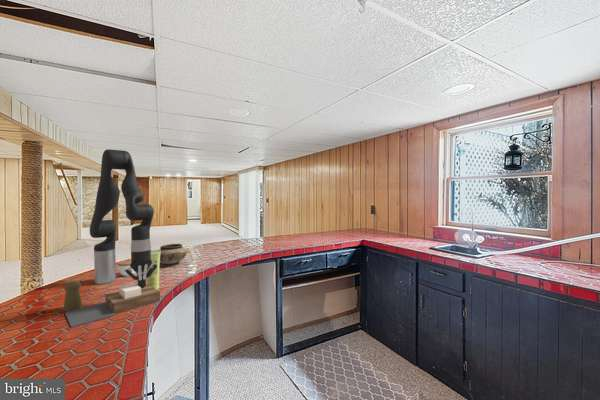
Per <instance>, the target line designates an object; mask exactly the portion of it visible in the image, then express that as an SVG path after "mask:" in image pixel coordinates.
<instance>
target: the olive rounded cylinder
mask: <svg viewBox="0 0 600 400" xmlns="http://www.w3.org/2000/svg"><path fill="white" fill-rule="evenodd" d="M81 286H82V284H81V282H80V281H79V280H72V281H68V282H66V283H65V284H64V286H63V289H64V291H65V297H64V304H63V309H62V310H63V311H64V312H68V311H72V310H76V309H80V308H83V301H82V296H81V291H80V288H81Z"/></svg>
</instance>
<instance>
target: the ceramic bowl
mask: <svg viewBox="0 0 600 400" xmlns="http://www.w3.org/2000/svg"><path fill="white" fill-rule="evenodd" d="M154 250H161V253H160V263H162V264H163V266H165V267H175V266H178V265H180V263H181V261H182V260H184V259H185V257H186V256H187V254H188V253H191V252H192V249H190V248H185V247H183V244H181V243H169V244H163V245H161V246H160V248H158V249H152V251H154Z"/></svg>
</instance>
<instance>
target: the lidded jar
mask: <svg viewBox="0 0 600 400" xmlns="http://www.w3.org/2000/svg"><path fill="white" fill-rule="evenodd" d="M130 264H131V258H127V259H125V260H121V261H118V262H117V264H116V265H117V270H118V272H119V274H120V275H121V276H122V277H130V276H129V275H128V274H127V273H126V272H125V269H128V268H129V267H130ZM131 273H132V274H134V275H136V272H135V271H134V270H133V269H132V272H131Z"/></svg>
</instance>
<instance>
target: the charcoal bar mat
mask: <svg viewBox="0 0 600 400" xmlns="http://www.w3.org/2000/svg"><path fill="white" fill-rule="evenodd" d="M64 314H65V317H66V319H67V321H68V322H67V323H68V324H69V326H70V328H71V329H72V328H76V327H80V326H84V325H87V324H89V323H93V322H97V321H100V320H101V321H102V320H103V319H107V318H110V317H114V316H116V314H114V312H113V311H112V310H111V309H110V308H109V307H108V305H107V304H106V301H105V302H101V303H96V304H93V305H92V304H91V305H88V306H83V307H81V308H79V309H76V310H72V311H64Z"/></svg>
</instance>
